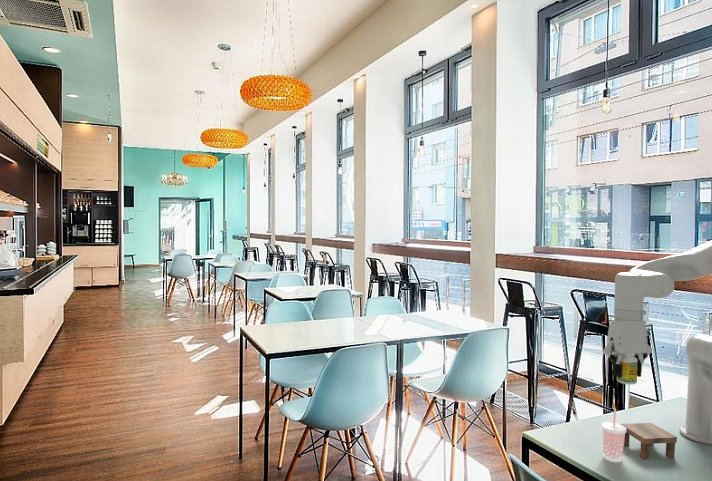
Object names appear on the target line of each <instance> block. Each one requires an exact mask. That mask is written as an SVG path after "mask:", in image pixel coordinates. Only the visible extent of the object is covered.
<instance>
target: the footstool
mask: <svg viewBox="0 0 712 481" xmlns="http://www.w3.org/2000/svg"><path fill="white" fill-rule="evenodd" d="M620 425H623V426H624V427H626V429H627V430H626V433H625V438H624V446H623V448H624V447H625V448H626V447H630V439H631V437H632V438H634V439H636V440H637V441H639V442H640V451H639V452H640V453H639V457H640V458H641V459H642V460H649V459H650V446H654V445H655V444H665V457H667V458H669V459H675V455H676V454H675V451H676V443H677V441H678V437H677V436H675V435H674V434H672V433H670V432H668V431H667V430H665V429H664V428H661V427H659V426H658V425H656V424H654V423H652V422H638V423H621V424H620Z"/></svg>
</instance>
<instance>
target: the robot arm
mask: <svg viewBox="0 0 712 481" xmlns="http://www.w3.org/2000/svg"><path fill="white" fill-rule="evenodd" d="M711 273H712V240H709V241H706V242H705V243H703V244H700V245H697V246H695V247H694V248H691V249H689V250H687V251H685V252H682V253H679V254H674V255H669V256H665V257H662V258H657V259H654V260H650V261H647V262H645V263H641V264H639V265H637V266H635V267H633V268H631V269H629V270H627V271H626V272H625V271H624V272H618V273H616V275H615V276H614V301H613V302H614V304H613V306H614V307H613V310H614V311H613V318H610V322H609V325H608V326H609V327H608V332H607V340H606V341H607V342H606V346H605V347H604V348H603V349H602V353H603V354H604V355H606V356H607V358H608V359H609V360H610V361H611V362H612V374H613V376H615V377H616V378H617V377H619V378H621V377H622V364H620V362H621V359H622V356H623V354H631V353H634V354H635V356H634V357H636V358H637V360H638V364H637V378H640V377H642V372H643V370H642V368H643V364H644V363H645V360H646V358H648V356H649V355H651V353H652V352H653V349H652V347H651V346H650V345H649V344H648V331H647V325H646V321H645V319H644V316H646V315H647V311H646V310H644V304H645V303H644V301H645V300H644V299H645V298H651V299H663V298H667V297H669V296H671V294H673V292H674V290H675V282H685V281H687V282H689V281H694V280H698V279H701V278H703V277H705V276H707V275H709V274H711ZM707 324H708V329H709V330H710V331H711V332H712V315H711V316H710V318H709V321H708V323H707ZM685 353H686V360H687V367H688V373H687V374H688V377H687V380H688V382H687V392H686V393H687V396H686V413H685V414H686V415H685V416H686V417H685V424H683V425H681V426H680V427H679V433H680V434H681V436H683V437H685V438H688V439H689V440H692V441H695V442H698V443H701V444H704V445H705V444H706V445H711V446H712V335H711V334H706V333H705V334H702V333H701V334H695V335H693V336H692V337H689V339H688V340H687V342H686V345H685Z"/></svg>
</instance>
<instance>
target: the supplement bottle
mask: <svg viewBox="0 0 712 481" xmlns="http://www.w3.org/2000/svg"><path fill="white" fill-rule="evenodd" d="M634 356H635V354H634V353H631V354H623V356H622V359H621V362H620V364H622V377H621V378H619V377H617V376H616V381H617V382H618V383H620V384H624V385H636V384H637V383H638V376H637V364H638V360H637V358H636V357H634Z"/></svg>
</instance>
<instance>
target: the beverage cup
mask: <svg viewBox="0 0 712 481" xmlns="http://www.w3.org/2000/svg"><path fill="white" fill-rule="evenodd" d="M616 414H617V409H616V408H613V420H612V421H613V422H608V421H607V422H602V423H601V429H602V449H603V450H602V455H603V458H604V459H605V460H606V461H609V462H612V463H613V462H614V463H620V462H622V460H623V454H624V438H625V433H626V430H627V429H626V427H624V426H623V425H621V424H620V423H617V422H616V418H617V416H616Z"/></svg>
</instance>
